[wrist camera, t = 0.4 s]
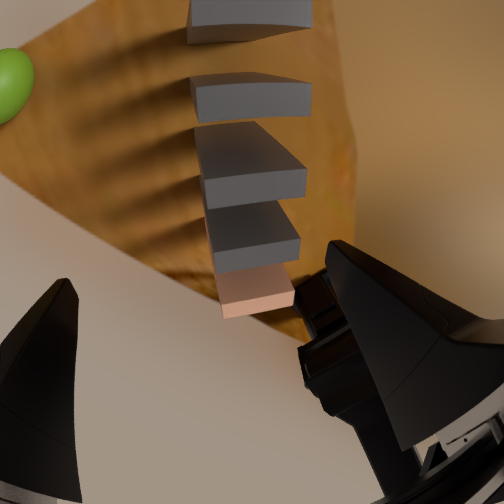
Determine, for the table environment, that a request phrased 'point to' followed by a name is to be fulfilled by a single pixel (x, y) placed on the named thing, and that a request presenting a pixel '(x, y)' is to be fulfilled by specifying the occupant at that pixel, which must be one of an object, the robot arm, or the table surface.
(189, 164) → the table surface
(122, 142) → the table surface
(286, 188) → the domino
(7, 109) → the snail figurine
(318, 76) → the table surface
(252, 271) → the domino
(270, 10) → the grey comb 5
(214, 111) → the domino
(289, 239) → the domino
